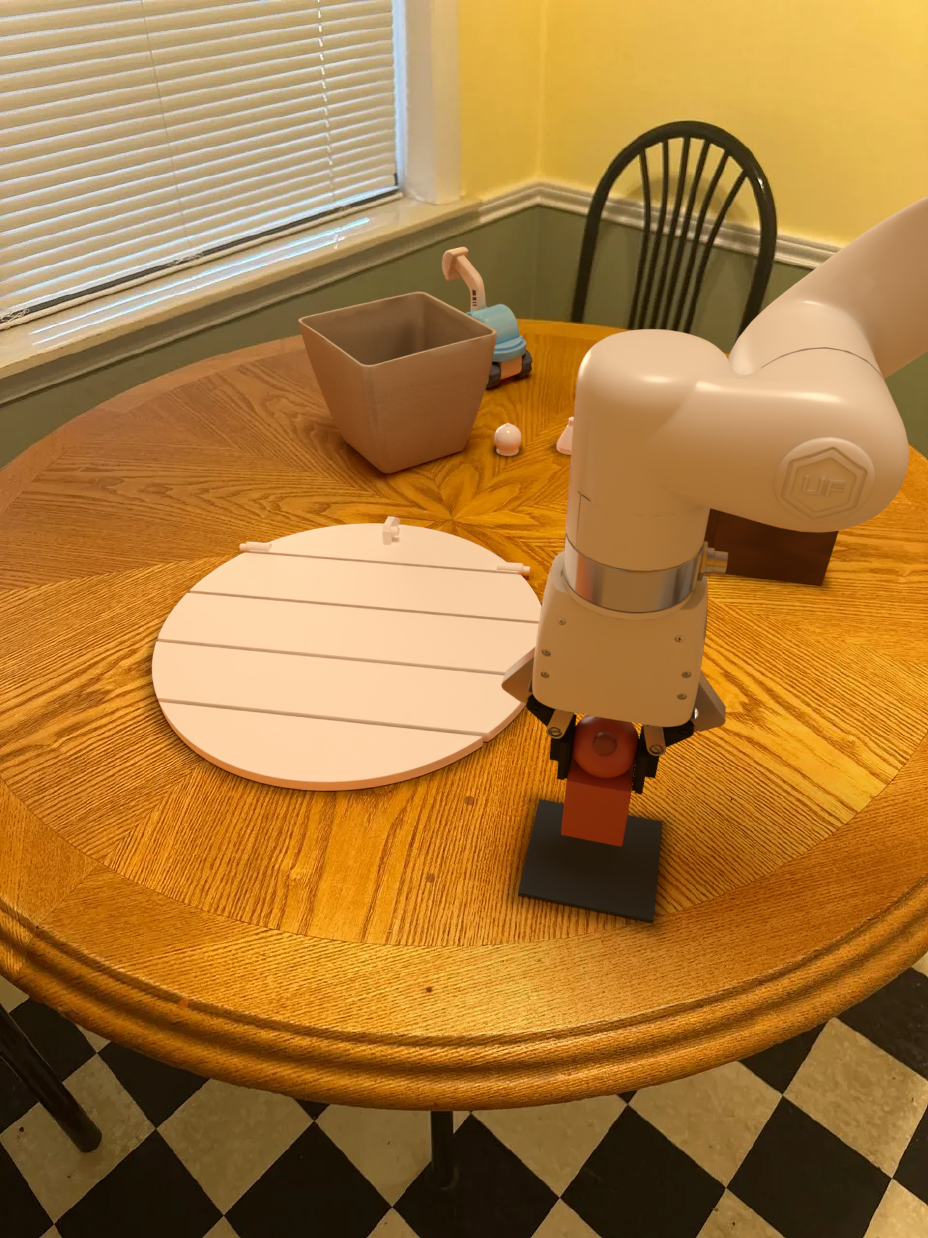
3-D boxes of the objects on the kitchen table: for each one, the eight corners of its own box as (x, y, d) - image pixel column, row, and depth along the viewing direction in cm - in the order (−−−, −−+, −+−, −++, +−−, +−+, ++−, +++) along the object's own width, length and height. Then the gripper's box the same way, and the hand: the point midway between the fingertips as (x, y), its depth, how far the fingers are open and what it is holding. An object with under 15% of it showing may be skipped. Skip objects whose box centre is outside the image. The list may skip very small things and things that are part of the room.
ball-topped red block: (629, 796, 65) (647, 696, 58) (623, 851, 61) (640, 751, 54) (569, 785, 66) (579, 685, 59) (558, 838, 62) (568, 738, 55)
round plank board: (242, 516, 106) (237, 492, 103) (561, 540, 100) (563, 515, 98) (79, 763, 75) (66, 736, 73) (524, 816, 70) (525, 789, 68)
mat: (662, 824, 69) (662, 821, 69) (653, 923, 62) (653, 920, 62) (539, 801, 71) (539, 798, 71) (517, 895, 64) (517, 892, 64)
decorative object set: (643, 452, 116) (646, 421, 113) (494, 457, 116) (495, 426, 113) (636, 436, 119) (640, 406, 117) (492, 441, 119) (492, 411, 116)
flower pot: (427, 402, 129) (421, 287, 118) (500, 452, 117) (501, 330, 106) (312, 436, 121) (294, 318, 110) (376, 495, 109) (364, 367, 98)
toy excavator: (475, 345, 145) (474, 238, 134) (536, 379, 134) (540, 265, 124) (433, 358, 142) (428, 249, 131) (492, 393, 131) (492, 278, 120)
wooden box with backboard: (814, 516, 103) (839, 425, 95) (821, 586, 93) (851, 489, 85) (701, 504, 106) (717, 414, 98) (696, 570, 95) (714, 475, 88)
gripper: (783, 541, 50) (726, 753, 61) (497, 506, 53) (495, 713, 65) (789, 622, 44) (724, 838, 56) (469, 577, 47) (471, 790, 59)
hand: (601, 769), depth 60 cm, fingers closed on ball-topped red block, 4 cm apart
